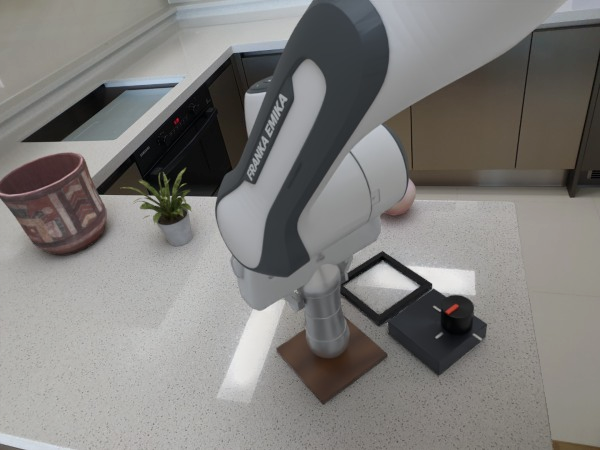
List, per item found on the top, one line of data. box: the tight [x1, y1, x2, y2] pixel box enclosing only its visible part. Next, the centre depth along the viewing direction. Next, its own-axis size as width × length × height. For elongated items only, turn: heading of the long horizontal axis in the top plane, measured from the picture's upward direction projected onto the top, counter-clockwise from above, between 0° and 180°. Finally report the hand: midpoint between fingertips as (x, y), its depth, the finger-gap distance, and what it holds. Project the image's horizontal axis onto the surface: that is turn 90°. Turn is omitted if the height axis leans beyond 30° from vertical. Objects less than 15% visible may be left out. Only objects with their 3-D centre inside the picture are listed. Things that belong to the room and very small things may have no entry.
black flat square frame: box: [340, 250, 433, 327], centre depth 79 cm, size 12×12×1 cm
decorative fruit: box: [384, 178, 417, 216], centre depth 93 cm, size 9×8×10 cm
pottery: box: [0, 151, 108, 256], centre depth 101 cm, size 18×18×18 cm
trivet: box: [275, 315, 388, 405], centre depth 69 cm, size 12×12×1 cm
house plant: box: [121, 167, 194, 247], centre depth 95 cm, size 14×14×16 cm
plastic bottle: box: [295, 252, 350, 358], centre depth 63 cm, size 6×7×20 cm
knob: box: [441, 294, 475, 334], centre depth 66 cm, size 4×4×4 cm
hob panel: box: [387, 287, 488, 376], centre depth 68 cm, size 11×11×3 cm
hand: (319, 293), depth 62 cm, fingers closed on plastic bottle, 6 cm apart
